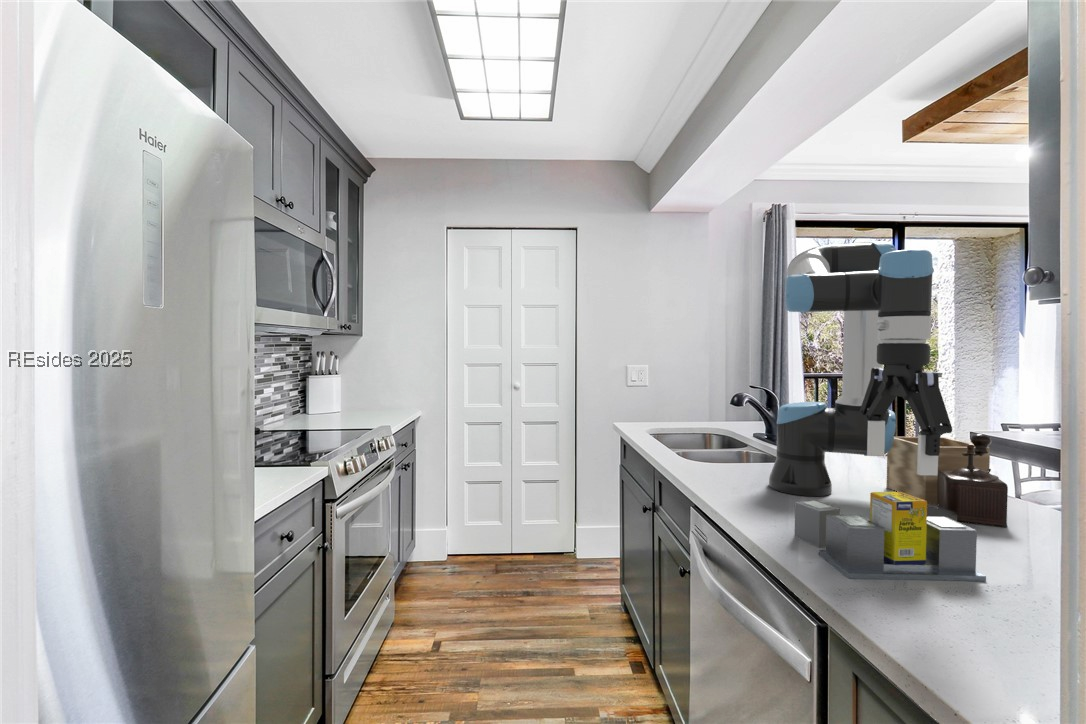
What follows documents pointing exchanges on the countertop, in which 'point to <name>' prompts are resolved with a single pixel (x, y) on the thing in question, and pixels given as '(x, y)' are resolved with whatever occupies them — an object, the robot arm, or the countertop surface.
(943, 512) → the black sponge
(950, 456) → the bottle crate
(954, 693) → the countertop surface
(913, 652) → the countertop surface
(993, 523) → the manual coffee grinder
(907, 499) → the supplement box
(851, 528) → the rail panel
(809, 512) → the module
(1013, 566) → the countertop surface
